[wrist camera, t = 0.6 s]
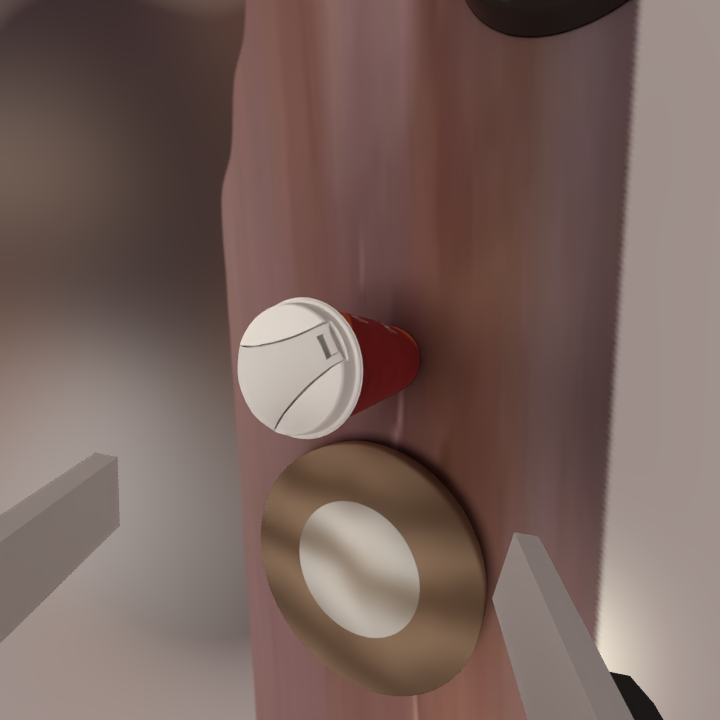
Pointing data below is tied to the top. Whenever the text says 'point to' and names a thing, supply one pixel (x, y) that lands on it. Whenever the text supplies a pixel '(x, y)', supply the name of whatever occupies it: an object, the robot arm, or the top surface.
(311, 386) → the paper cup
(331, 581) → the disc
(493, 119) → the top surface
